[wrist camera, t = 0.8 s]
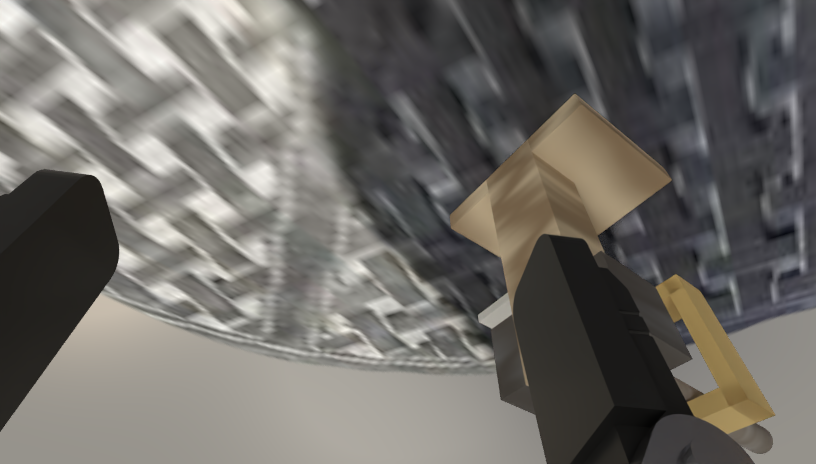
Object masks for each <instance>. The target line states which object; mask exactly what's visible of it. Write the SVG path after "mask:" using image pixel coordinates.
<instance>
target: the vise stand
mask: <svg viewBox="0 0 816 464" xmlns="http://www.w3.org/2000/svg"><path fill="white" fill-rule="evenodd" d="M670 181H672V179H671V178H670V176H669V175H668V173H667V172H666V171H665V169H664V168H663V167H662V166H661V165H660V164H658V163H657V162H656V161H655V160H654V159H653V158H651V157H650V156H649V155H648V154H647V153H645V152H644V151H643V150H642V149H641V148H639V147H638V146H637V145H636V144H635V143H634V142H632V141H631V140H630V139H629V138H628V137H626V136H625V135H624V134H623V133H622V132H620V131H619V130H618V129H617V128H616V127H614V126H613V125H612V124H611V123H610V122H609V121H607V120H606V119H605V118H604V117H603V116H601V115H600V114H599V113H598V112H597V111H595V110H594V109H593V108H592V107H591V106H589V105H588V104H587V103H586V102H585V101H584V100H582V99H581V98H580V97H579V96H578V95H576V94H574V95H573V96H572V97H571V98H570V99H569V100H568V101H566V102H565V103H564V104H563V105H562V106H561V107H560V108H559V109H558V110H557V111H556V112H555V113H554V114H553V115H552V116H551V117H550V118H549V119H548V120H547V121H546V122H545V123H544V124H543V125H542V126H541V127H540V128H539V129H538V130H537V131H536V132H535V133H534V134H533V135H532V136H531V137H530V138H529V139H528V140H527V141H525V142H524V143H523V144H522V145H521V146H520V147H519V148H518V149H517V150H516V151H515V152H514V153H513V154H512V155H511V156H510V157H509V158H508V159H507V160H506V161H505V162H504V163H503V164H502V165H501V166H500V167H499V168H498V169H497V170H496V171H495V172H494V173H493V174H492V175H491V176H490V177H489V178H488V179H487V180H486V181H485V182H483V183H482V184H481V185H480V186H479V187H478V188H477V189H476V190H475V191H474V192H473V193H472V194H471V195H470V196H469V197H468V198H467V199H466V200H465V201H464V202H463V203H462V204H461V205H460V206H459V207H458V208H457V209H456V210H455V211H454V212H453V213H452V214H451V215H450V222H451V229H453V230H455V231H456V232H458V233H460V234H462V235H463V236H465V237H467V238H468V239H470V240H472V241H473V242H475V243H477V244H478V245H480V246H482V247H484V248H485V249H487V250H489V251H490V252H492V253H494V254H495V255H497V256H499V257H501V259H502V264H503V270H504V275H505V280H506V285H507V290H508V295H509V301H510V306H511V311H512V315H510V316H509V317H508V318H506V319H505V320H504V321H502V322H501V323H499V324H498V325H497V326H495V327H494V328H492V329H491V335H492V342H493V349H494V356H495V363H496V370H497V377H498V383H499V390H500V397H501V400H503V401H505V402H507V403H510V404H512V405H514V406H516V407H519V408H521V409H523V410H526V411H528V412H530V413H533V414H535V410H534V406H533V402H532V398H531V393H530V389H529V385H528V380H527V376H526V372H525V368H524V363H523V359H522V355H521V350H520V346H519V342H518V338H517V333H516V329H515V325H514V320H513V302H514V296H515V292H516V289H517V287H518V284H519V282H520V279H521V277H522V275H523V272H524V270H525V267H526V265H527V263H528V260H529V258H530V255H531V253H532V251H533V248H534V246H535V244H536V241H537V240H538V238H539V237H540V236H541V235H542V234H551V235H559V236H567V237H575V238H582V239H584V240H585V241H586V242H587V244H588V246H589V248H590V250H591V252H592V254H593V257H594V259H595V261H596V263H597V265H598V267H602V268H608V269H609V270H610V272H611V273H612V274H613V275H614V276H615V277H616V278H617V279H618V280H619V281H620V282H621V283H622V284H623V285H624V286H625V287H626V288H627V289H628V290H629V292H630V294H631V296H632V298H633V300H634V302H635V304H636V306H637V308H638V309H639V311H640V313H639V316H641V317H643V319H644V321H645V323H646V325H647V327H648V329H649V331H650V332H649V335H650V336H653V338H654V340H655V342H656V344H657V346H658V348H659V350H660V352H661V354H662V356H663V357H664V359H665V361H666V363H667V365H668V367H669V369H670V370H672V369H674V368H676V367H677V366H680V365H681V364H684V363H685V362H688V361H689V360H691V359H692V357H691V355H690V353H689V351H688V349H687V347H686V345H685V343H684V341H683V340H682V338H681V336H680V334H679V332H678V330H677V328H676V326H675V324H674V322H673V320H672V318H671V316H670V314H669V312H668V310H667V308H666V306H665V305H664V303H663V301H662V299H661V297H660V295H659V293H658V291H657V289H656V287H655V286H653V285H652V284H650V283H649V282H647V281H646V280H644V279H643V278H641V277H640V276H638V275H637V274H635V273H634V272H632V271H631V270H629V269H628V268H626V267H625V266H623V265H622V264H620V263H619V262H617V261H616V260H615V259H613V258H612V257H610V256H609V255H607V254H606V253H605V252H604V250H603V248H602V245H601V243H600V241H599V238H598V235H599V234H600V233H602V232H603V231H604V230H606V229H607V228H608V227H610V226H611V225H612V224H614V223H615V222H616V221H618V220H619V219H621V218H622V217H623V216H625V215H626V214H627V213H629V212H630V211H631V210H633V209H634V208H635V207H637V206H638V205H639V204H641V203H642V202H643V201H645V200H646V199H647V198H649V197H650V196H652V195H653V194H654V193H656V192H657V191H658V190H660V189H661V188H662V187H664V186H665V185H666V184H668V183H669V182H670ZM674 379H675V380H676V382H677V384H678V386H679V388H680V390H681V392H682V394H683V396H684V398H685V400H686V402H688V401H690V400H693V399H695V398H697V397H699V396H702V395H704V394H703V393H702V392H700V391H698V390H696V389H694V388H693V387H691V386H689V385H688V384H686V383H684V382H682V381H680V380H679V379H677V378H675V377H674ZM727 435H729V436H730V437H731V438H732V439H734V440H735V441H736V442H737V443H738V444H739V445H740V446H742V447H744V448H746V449H748V450H750V451H752V452H754V453H757V454H763V453H766V452H768V451H769V450H770V449H771V448H772V445H773V439H772V436H771V434H770V433H769V432H768V431H767V430H766V429H765V428H763V427H761V426H760V425H758V424H756V423H754V424H752V425H749V426H747V427H744V428H742V429H739V430H736V431H734V432H731V433H729V434H727Z"/></svg>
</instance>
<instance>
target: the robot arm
mask: <svg viewBox="0 0 816 464" xmlns="http://www.w3.org/2000/svg"><path fill="white" fill-rule="evenodd" d="M118 259H119V244H118V240H117V236H116V233H115V229H114V226H113V222H112V219H111V215H110V212H109V209H108V205H107V202H106V198H105V195H104V191H103V188H102V185H101V183H100V181H99V180H98V179H97V178H96V177H95V176H92V175H86V174H78V173H70V172H63V171H55V170H47V169H43V170H39V171H37V172H36V173H34V174H33V175H32V176H30V177H29V178H28V179H27V180H25V181H24V182H23V183H22V184H21V185H19V186H18V187H17V188H16V189H14V190H13V191H12V192H11V193H10V194H4V195H2V196H0V431H1V430H2V429H3V427H4V426H5V424H6V423H7V421H8V420H9V419H10V417H11V416H12V415H13V413H14V412H15V410H16V409H17V408H18V406H19V405H20V404H21V402H22V401H23V399H24V398H25V397H26V395H27V394H28V393H29V391H30V390H31V388H32V387H33V386H34V384H35V383H36V381H37V380H38V378H39V377H40V376H41V375H42V373H43V372H44V370H45V369H46V367H47V366H48V365H49V363H50V362H51V361H52V359H53V358H54V357H55V355H56V354H57V352H58V351H59V349H60V348H61V347H62V345H63V344H64V343H65V341H66V340H67V339H68V337H69V336H70V334H71V333H72V332H73V330H74V329H75V327H76V326H77V324H78V323H79V322H80V320H81V319H82V318H83V316H84V315H85V314H86V312H87V311H88V309H89V308H90V307H91V305H92V304H93V302H94V301H95V300H96V298H97V297H98V296H99V294H100V293H101V291H102V290H103V289H104V287H105V286H106V284H107V283H108V282H109V280H110V279H111V277H112V276H113V274H114V272H115V270H116V267H117V264H118ZM639 313H640V311H639V309H638V308H637V306H636V304H635V302H634V300H633V298H632V296H631V294H630V292H629V290H628V289H627V288H626V287H625V286H624V285H623V284H622V283H621V282H620V281H619V280H618V279H617V278H616V277H615V276H614V275H613V274H612V273H611V272H610V270H609V269H608V268H602V267H598V265H597V263H596V261H595V259H594V257H593V254H592V252H591V250H590V248H589V246H588V244H587V242H586V241H585V240H584V239H582V238H575V237H567V236H559V235H551V234H542V235H541V236H540V237H539V238H538V240H537V241H536V244H535V246H534V248H533V251H532V253H531V255H530V258H529V260H528V263H527V265H526V267H525V270H524V272H523V275H522V277H521V279H520V282H519V284H518V287H517V289H516V292H515V296H514V302H513V320H514V325H515V329H516V333H517V338H518V342H519V346H520V350H521V355H522V359H523V363H524V368H525V372H526V376H527V380H528V385H529V389H530V393H531V398H532V402H533V406H534V410H535V415H536V419H537V423H538V428H539V432H540V436H541V440H542V445H543V449H544V453H545V457H546V462H547V464H755V463H754V462H753V461H752V459H751V458H750V456H749V455H748V454H747V453H746V452H745V451H744V449H743V448H742V447H741V446H740V445H739V444H738V443H737V442H736V441H735V440H734V439H732V438H731V437H730V436H729V435H727V434H726V433H725V432H724V431H722V430H721V429H719V428H718V427H716V426H714V425H712V424H711V423H709V422H707V421H705V420H702V419H700V418H697V417H695V416H694V415H693V413H692V411H691V409H690V407H689V405H688V403H687V402H686V400H685V398H684V396H683V394H682V392H681V390H680V388H679V386H678V384H677V382H676V380H675V379H674V377H673V375H672V373H671V371H670V369H669V367H668V365H667V363H666V361H665V359H664V357H663V356H662V354H661V352H660V350H659V348H658V346H657V344H656V342H655V340H654V338H653V336H650V335H649V332H650V331H649V329H648V327H647V325H646V323H645V321H644V319H643V317H641V316H639Z"/></svg>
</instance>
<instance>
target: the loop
mask: <svg viewBox="0 0 816 464" xmlns="http://www.w3.org/2000/svg"><path fill="white" fill-rule="evenodd" d="M656 289H657V291H658V293H659V295H660V297H661V299H662V301H663V303H664V305H665V306H666V308H667V310H668V312H669V314H670V316H671V318H672V320H673V322H676V321H678V320H680V319H683V321H684V323H685V325H686V327H687V328H688V330H689V332H690V334H691V336H692V338H693V340H694V341H695V343H696V345H697V347H698V349H699V351H700V352H701V355H702V356H703V358H704V360H705V362H706V364H707V366H708V367H709V369H710V371H711V373H712V375H713V377H714V379H715V381H716V382H717V384H718V386H719V388H717V389H715V390H713V391H711V392H708V393H706V394H704V395H702V396H699V397H697V398H695V399H693V400H690V401H688V402H687V403H688V405H689V407H690V409H691V411H692V413H693V415H694V416H695V417H697V418H700V419H702V420H705V421H707V422H709V423H711V424H712V425H714V426H716V427H718V428H719V429H721V430H722V431H724V432H725V433H726V434H729V433H731V432H734V431H736V430H739V429H742V428H744V427H747V426H749V425H752V424H754V423H757V422H760V421H762V420H765V419H767V418H770V417H772V416H775V414H774V412H773V410H772V409H771V407H770V405H769V404H768V402H767V400H766V399H765V397H764V395H763V394H762V392H761V391H760V389H759V387H758V386H757V384H756V383H755V381H754V379H753V377H752V376H751V374H750V373H749V371H748V369H747V367H746V366H745V364H744V362H743V361H742V359H741V358H740V356H739V354H738V353H737V351H736V349H735V348H734V346H733V345H732V343H731V341H730V339H729V338H728V336H727V334H726V333H725V331H724V330H723V328H722V326H721V325H720V323H719V321H718V320H717V318H716V316H715V315H714V313H713V311H712V310H711V308H710V306H709V305H708V303H707V301H706V300H705V298H704V297H703V295H702V293H701V292H700V291H699V290H698V289H696V288H695V287H694V286H692V285H691V284H689V283H688V282H687V281H685V280H684V279H682V278H681V277H680V276H678V275H677V274H676V275H674V276H672V277H671V278H669V279H668V280H666V281H664V282H663V283H661V284H660V285H658V286H656Z"/></svg>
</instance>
